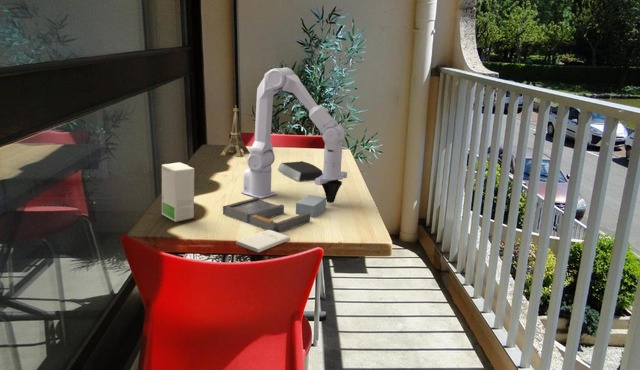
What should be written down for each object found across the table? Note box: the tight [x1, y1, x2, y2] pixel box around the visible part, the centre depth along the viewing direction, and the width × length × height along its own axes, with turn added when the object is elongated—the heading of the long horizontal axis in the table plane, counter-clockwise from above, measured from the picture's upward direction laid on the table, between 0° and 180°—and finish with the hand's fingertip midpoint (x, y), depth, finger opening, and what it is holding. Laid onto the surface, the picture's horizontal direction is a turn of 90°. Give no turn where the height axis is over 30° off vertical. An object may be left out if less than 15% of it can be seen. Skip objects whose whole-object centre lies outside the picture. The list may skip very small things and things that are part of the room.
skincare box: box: [161, 161, 195, 223], centre depth 158 cm, size 8×7×16 cm
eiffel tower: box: [219, 106, 250, 158], centre depth 243 cm, size 11×11×25 cm
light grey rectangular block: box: [295, 194, 327, 218], centre depth 170 cm, size 6×10×4 cm, turn 157°
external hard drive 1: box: [235, 229, 291, 253], centre depth 144 cm, size 2×8×12 cm
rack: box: [222, 197, 311, 233], centre depth 162 cm, size 23×14×3 cm, turn 51°
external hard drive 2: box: [277, 161, 323, 183], centre depth 214 cm, size 13×19×4 cm
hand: (330, 202), depth 177 cm, fingers closed
